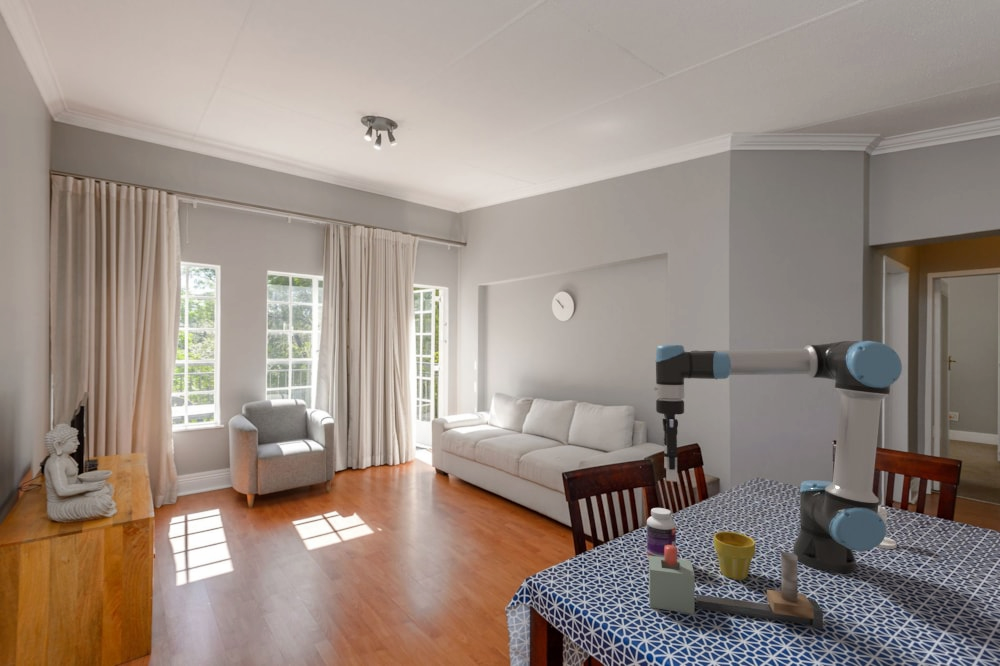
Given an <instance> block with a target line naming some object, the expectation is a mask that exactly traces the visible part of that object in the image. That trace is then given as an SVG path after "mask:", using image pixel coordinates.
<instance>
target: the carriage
mask: <svg viewBox="0 0 1000 666" xmlns="http://www.w3.org/2000/svg"><path fill="white" fill-rule="evenodd" d="M780 560H781V573H780V575H781V576H780V577H781V578H780V579H781V580H780V581H781V591H780V590H772V589H766V601H767V604H769V605H770V607H771V609H772V611H773V613H776V614H783V615H790V616H797V617H804V618H811V619H814V608H813V606H812V605H811V603H810V602H809V600H808V599H809V598H808V597H807V596H806V594H803V593H799V591H798V582H799V581H798V580H799V579H798V575H799V573H798V571H799V570H798V568H799V567H798V566H799V565H798V564H799V563H798V562H799V561H798V557H797V555H795V554H794V552H789V551H783V552H781V559H780Z"/></svg>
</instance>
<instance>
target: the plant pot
mask: <svg viewBox="0 0 1000 666" xmlns="http://www.w3.org/2000/svg"><path fill="white" fill-rule="evenodd" d="M713 548H714V550H715V551H716V555H717V559H718V564H719V569H720V573H721V574H722V575H723V576H725V577H726V578H729V579H733V580H737V581H741V580H745V579H747V578H748V575H749V571H750V566H751V563H752V559H753V558H754V557H755V556H756V542H755V540H754V539H753V538H751V536H747V535H746V534H744V533H739V532H736V531H735V532H734V531H725V530H724V531H718V532H716V533H714V535H713Z"/></svg>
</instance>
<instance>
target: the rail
mask: <svg viewBox="0 0 1000 666" xmlns="http://www.w3.org/2000/svg"><path fill="white" fill-rule="evenodd" d="M807 599H808V600H809V602H810V603H811V605H812V606H813V608H814V619H811V618H804V617H797V616H790V615H783V614H776V613H773V611H772V609H771V607H770V605H769V603H763V602H755V601H748V600H740V599H734V598H733V599H732V598H727V597H726V598H725V597H719V596H712V595H711V596H710V595H704V594H697V593H696V594H695V604H696V607H697V610H703V611H708V612H717V613H723V614H730V615H736V616H743V617H750V618H751V617H752V618H757V619H765V620H771V621H778V622H784V623H793V624H800V625H806V626H811V627H812V629H817V630H824V610H823V609H822V607H821V606H820V604H819V603H818V602H817V601H816V599H812V598H807Z"/></svg>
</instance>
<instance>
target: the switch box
mask: <svg viewBox="0 0 1000 666" xmlns="http://www.w3.org/2000/svg"><path fill="white" fill-rule="evenodd" d="M695 577H696V576H695V571H694V568H693V565H692V561H691V560H688V559H680V558H677V566H675V567H671V566H667V565H666V564H665V563H664V557H657V556H649V559H648V597H649V598H648V599H649V600H648V601H649V608H652V609H658V610H666V611H671V612H677V613H678V612H680V613H686V614H692V615H694V614H695V604H696V594H695V588H696V587H695V586H696V585H695Z"/></svg>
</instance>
